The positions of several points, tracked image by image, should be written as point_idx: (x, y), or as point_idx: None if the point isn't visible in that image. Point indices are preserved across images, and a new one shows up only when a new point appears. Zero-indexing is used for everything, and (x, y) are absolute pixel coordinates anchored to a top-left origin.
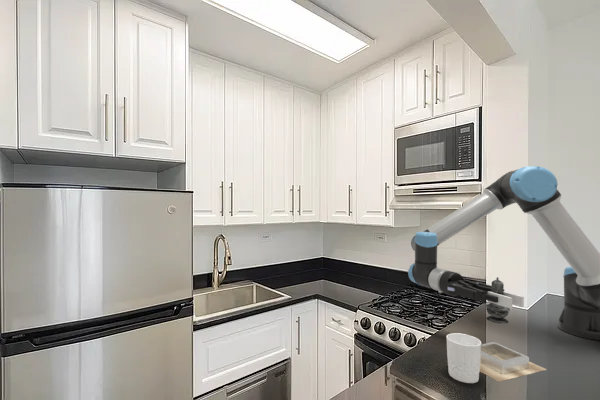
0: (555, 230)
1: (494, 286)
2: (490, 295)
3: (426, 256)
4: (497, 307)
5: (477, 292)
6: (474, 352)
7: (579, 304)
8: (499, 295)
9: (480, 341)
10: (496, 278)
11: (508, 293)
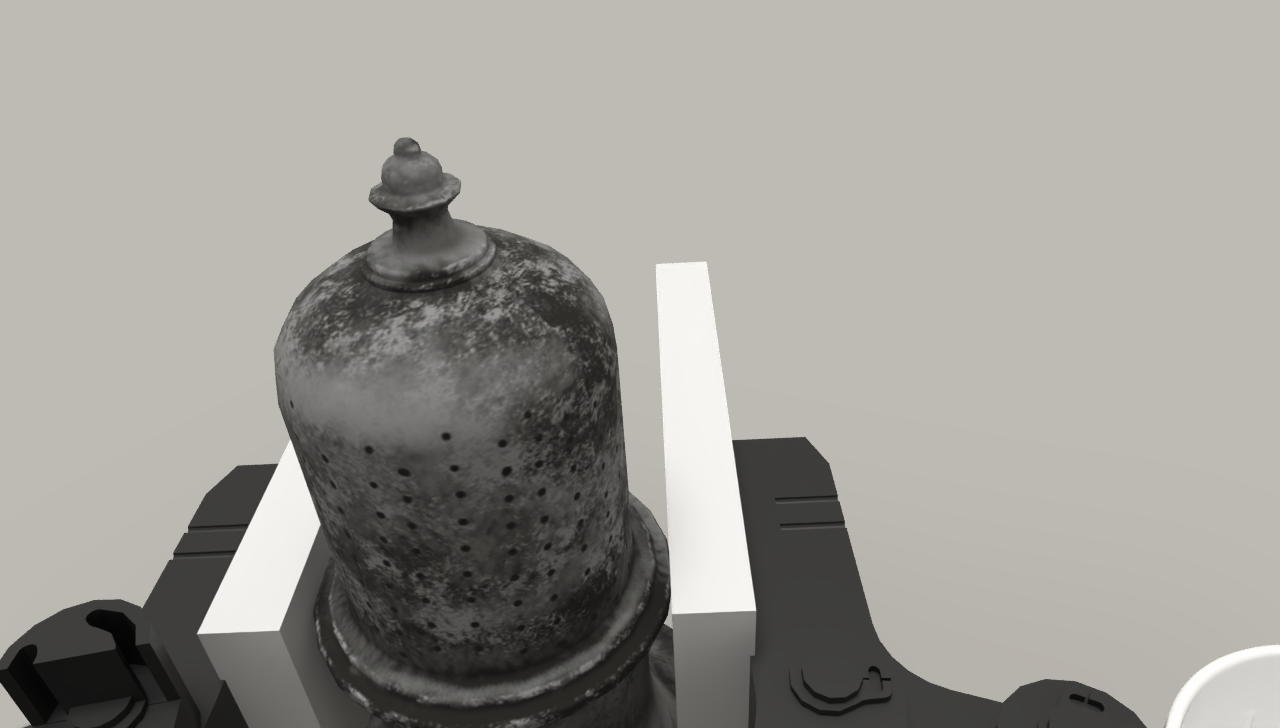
0: None
1: (619, 388)
2: (804, 541)
3: None
4: (660, 667)
5: (1108, 700)
6: None
7: None
8: (722, 388)
9: (1177, 710)
10: (452, 193)
11: None
